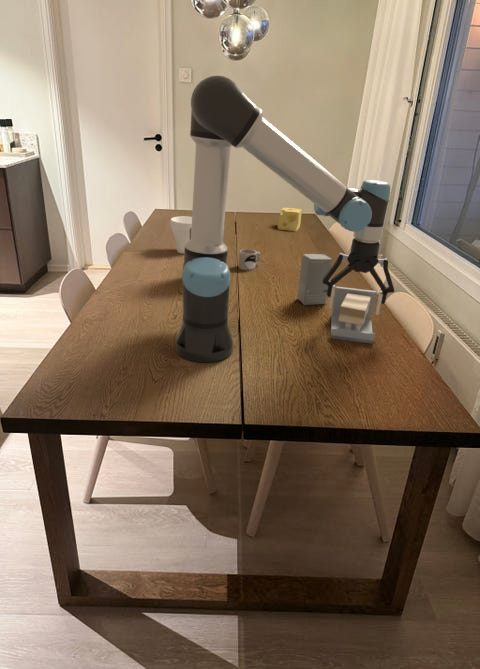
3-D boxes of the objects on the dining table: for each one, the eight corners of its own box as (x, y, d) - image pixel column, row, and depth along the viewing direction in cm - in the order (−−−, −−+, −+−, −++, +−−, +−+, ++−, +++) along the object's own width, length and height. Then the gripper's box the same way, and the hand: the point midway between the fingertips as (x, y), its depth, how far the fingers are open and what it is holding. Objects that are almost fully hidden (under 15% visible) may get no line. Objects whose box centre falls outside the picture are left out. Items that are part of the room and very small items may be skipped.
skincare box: (303, 305, 161) (309, 259, 154) (295, 297, 167) (300, 253, 160) (327, 304, 163) (333, 258, 156) (318, 296, 169) (324, 252, 162)
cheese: (277, 229, 253) (279, 210, 249) (281, 225, 262) (283, 206, 258) (297, 232, 251) (299, 212, 246) (300, 227, 260) (303, 208, 255)
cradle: (373, 343, 138) (379, 311, 134) (330, 338, 140) (335, 306, 136) (370, 320, 153) (375, 291, 149) (331, 316, 155) (336, 286, 150)
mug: (245, 271, 189) (246, 254, 187) (235, 266, 194) (235, 250, 191) (264, 267, 195) (266, 251, 192) (254, 262, 200) (255, 247, 197)
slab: (362, 325, 138) (365, 310, 136) (338, 320, 141) (340, 306, 139) (368, 310, 149) (371, 296, 147) (345, 306, 151) (347, 292, 149)
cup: (203, 254, 206) (204, 222, 200) (175, 256, 201) (174, 223, 195) (194, 246, 216) (195, 215, 210) (167, 248, 212) (167, 216, 206)
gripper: (411, 241, 136) (395, 310, 145) (321, 231, 139) (311, 299, 149) (414, 248, 129) (398, 320, 139) (320, 237, 133) (310, 308, 142)
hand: (353, 310), depth 144 cm, fingers open, 13 cm apart
